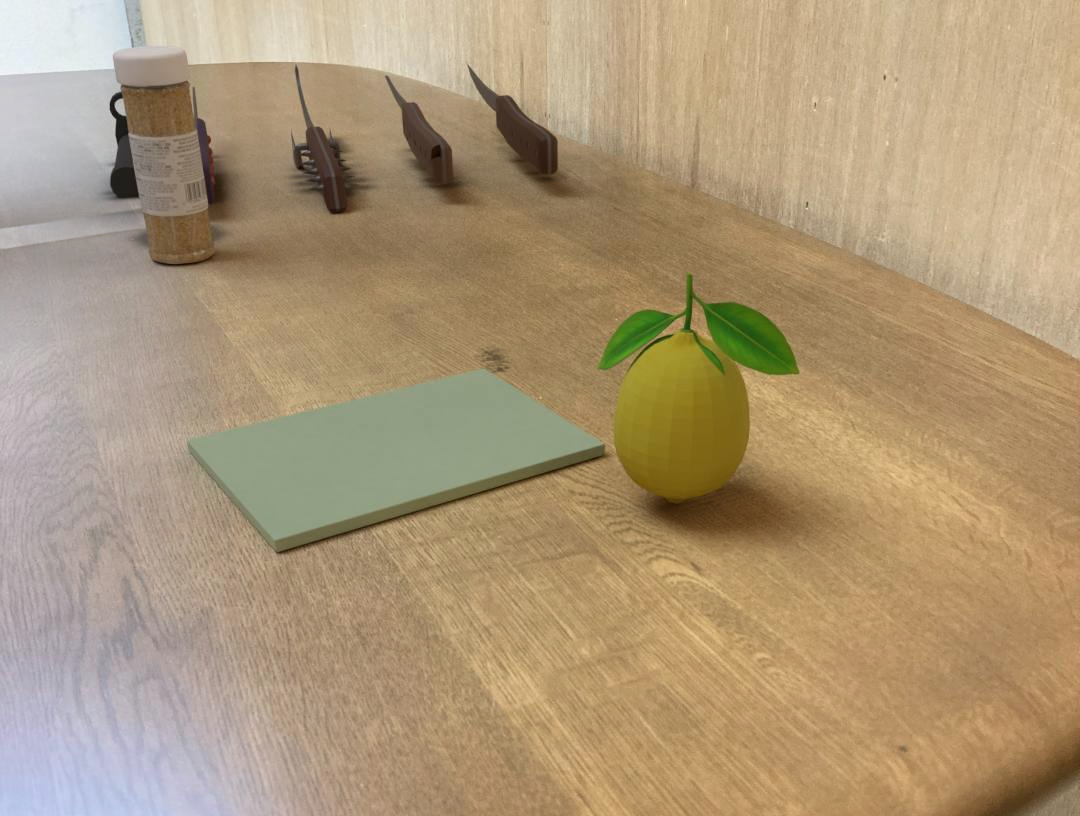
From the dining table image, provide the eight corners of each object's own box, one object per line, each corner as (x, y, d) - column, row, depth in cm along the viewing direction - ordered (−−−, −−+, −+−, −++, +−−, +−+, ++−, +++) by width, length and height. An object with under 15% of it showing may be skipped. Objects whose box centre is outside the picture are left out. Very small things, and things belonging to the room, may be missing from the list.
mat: (276, 553, 45) (274, 540, 45) (188, 450, 53) (186, 439, 53) (605, 455, 53) (605, 443, 52) (484, 378, 61) (484, 367, 60)
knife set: (476, 111, 120) (473, 31, 116) (561, 202, 94) (561, 104, 89) (131, 137, 113) (114, 54, 109) (117, 245, 86) (94, 140, 82)
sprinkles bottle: (187, 243, 82) (154, 42, 75) (230, 254, 80) (200, 47, 73) (135, 259, 79) (96, 50, 72) (178, 270, 77) (142, 56, 70)
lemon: (781, 528, 47) (809, 291, 42) (650, 553, 45) (663, 309, 40) (706, 459, 52) (723, 242, 47) (587, 479, 50) (591, 257, 45)
